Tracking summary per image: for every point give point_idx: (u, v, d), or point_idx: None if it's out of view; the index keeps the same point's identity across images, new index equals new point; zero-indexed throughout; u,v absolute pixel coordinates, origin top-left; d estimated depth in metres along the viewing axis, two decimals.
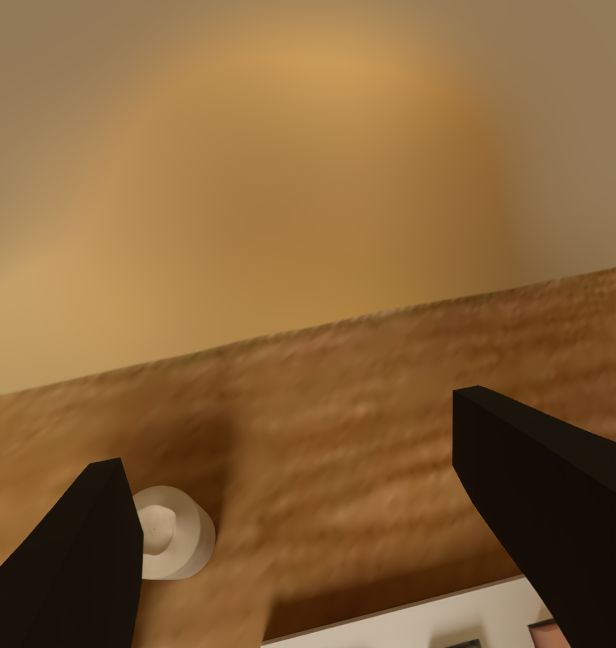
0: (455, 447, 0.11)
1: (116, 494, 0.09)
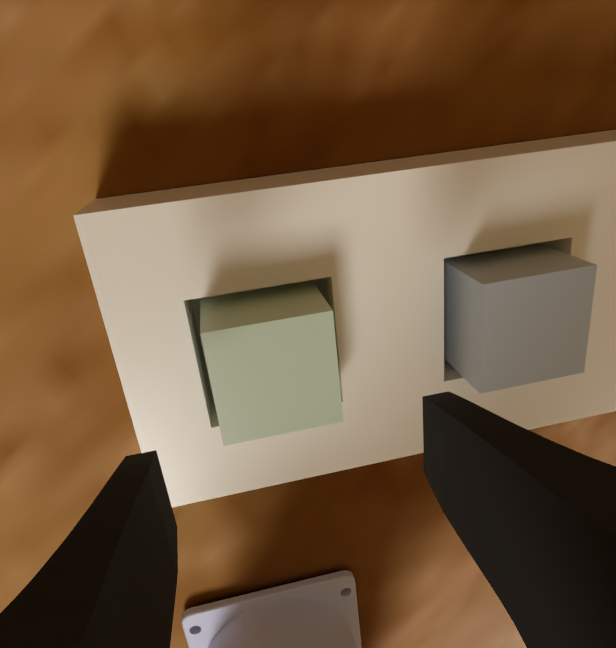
0: (426, 453, 0.11)
1: (154, 486, 0.09)
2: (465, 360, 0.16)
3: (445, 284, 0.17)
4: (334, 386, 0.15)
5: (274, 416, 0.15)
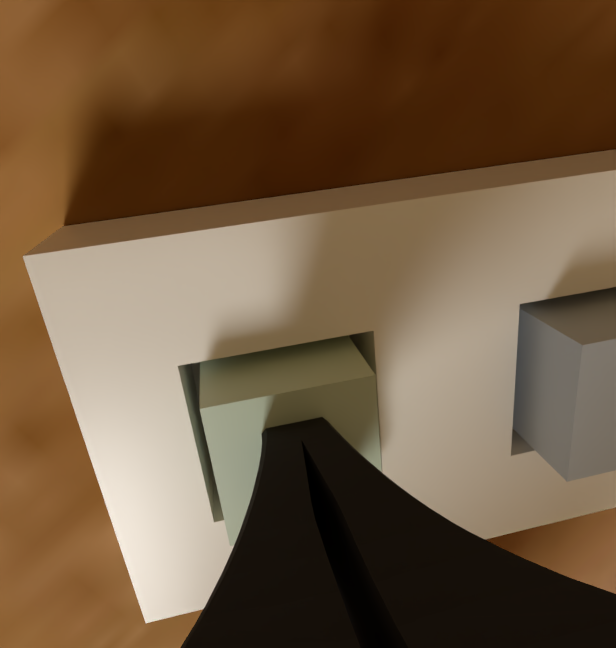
0: None
1: None
2: (544, 434, 0.13)
3: None
4: None
5: None
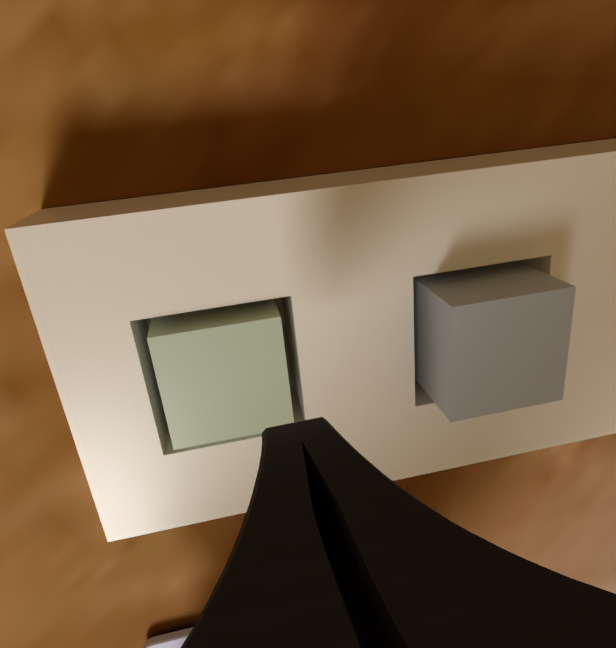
0: None
1: None
2: (437, 385, 0.15)
3: (416, 303, 0.16)
4: (284, 391, 0.15)
5: (224, 421, 0.15)
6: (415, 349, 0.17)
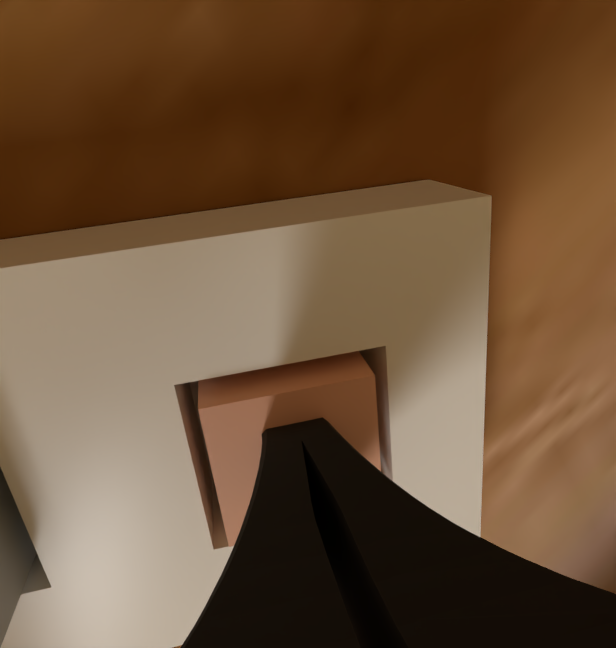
0: None
1: None
2: None
3: None
4: None
5: None
6: None
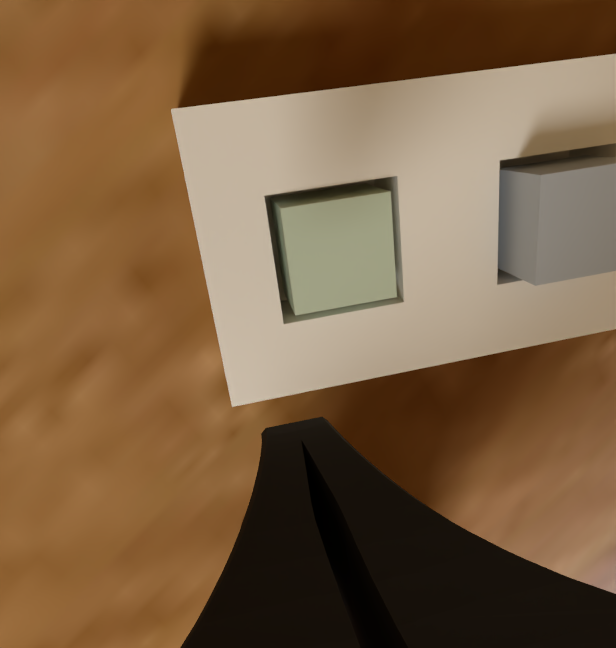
0: None
1: None
2: (520, 258, 0.18)
3: None
4: (390, 263, 0.17)
5: (339, 289, 0.17)
6: None
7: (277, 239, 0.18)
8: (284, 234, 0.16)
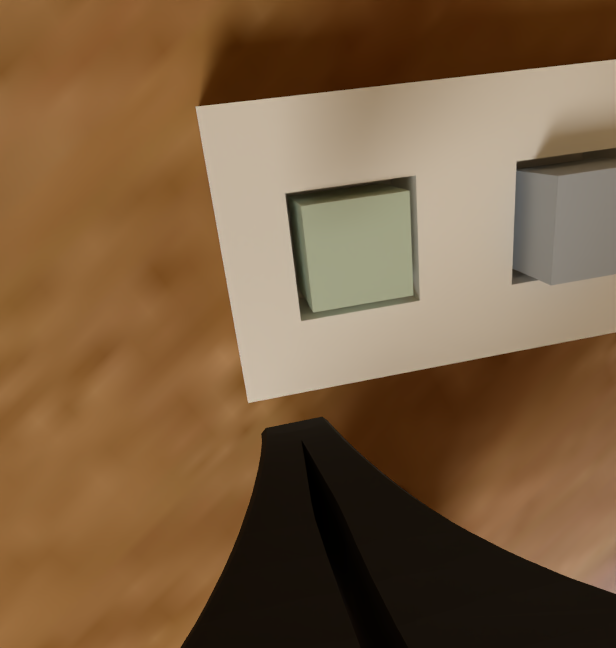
0: None
1: None
2: (535, 259, 0.18)
3: None
4: (407, 261, 0.17)
5: (356, 287, 0.17)
6: None
7: (294, 237, 0.19)
8: (304, 231, 0.16)
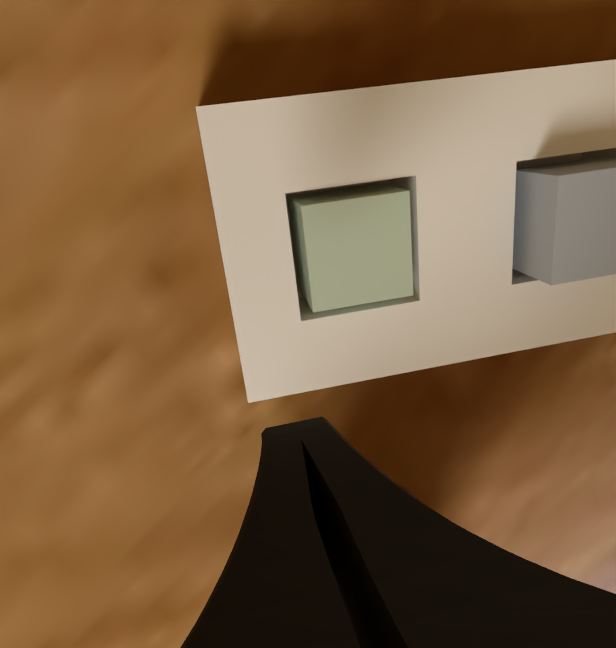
0: None
1: None
2: (535, 259, 0.18)
3: None
4: (407, 261, 0.17)
5: (356, 287, 0.17)
6: None
7: (294, 237, 0.19)
8: (304, 231, 0.16)
